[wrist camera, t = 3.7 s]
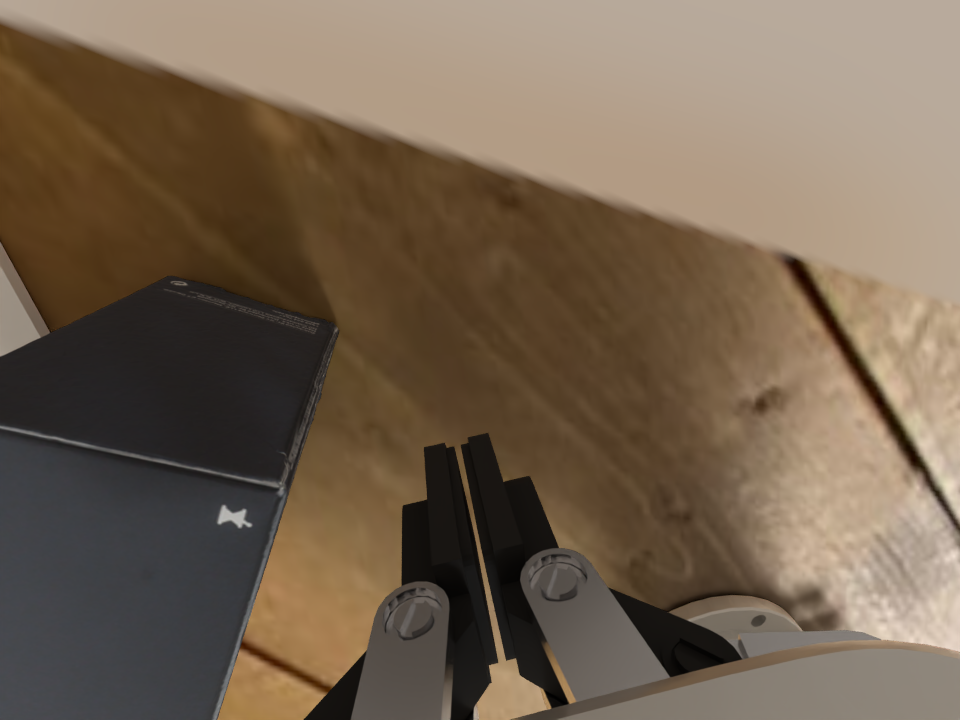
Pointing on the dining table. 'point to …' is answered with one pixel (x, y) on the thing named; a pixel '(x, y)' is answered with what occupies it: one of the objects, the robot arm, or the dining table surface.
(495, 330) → the dining table surface
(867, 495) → the dining table surface
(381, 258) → the dining table surface
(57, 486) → the small box
